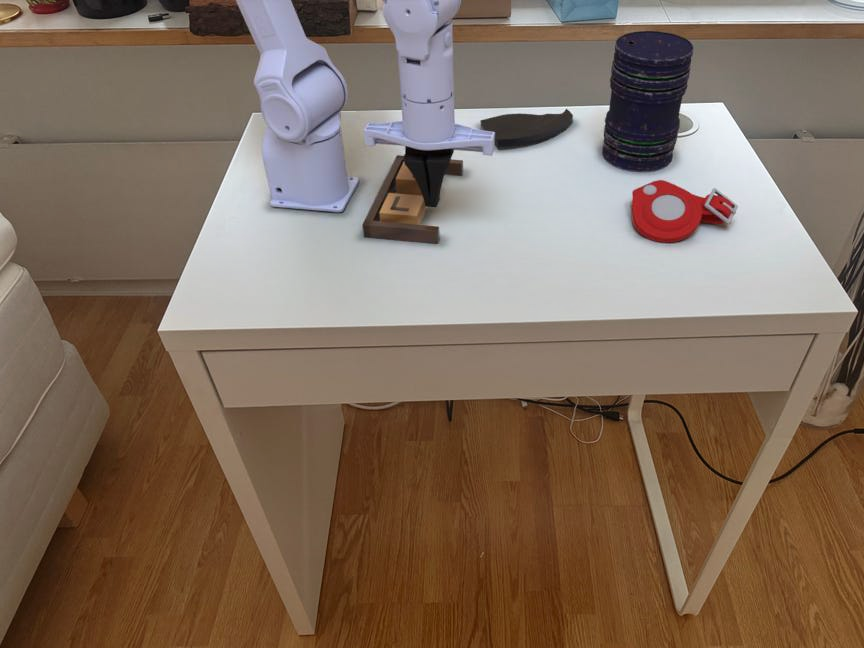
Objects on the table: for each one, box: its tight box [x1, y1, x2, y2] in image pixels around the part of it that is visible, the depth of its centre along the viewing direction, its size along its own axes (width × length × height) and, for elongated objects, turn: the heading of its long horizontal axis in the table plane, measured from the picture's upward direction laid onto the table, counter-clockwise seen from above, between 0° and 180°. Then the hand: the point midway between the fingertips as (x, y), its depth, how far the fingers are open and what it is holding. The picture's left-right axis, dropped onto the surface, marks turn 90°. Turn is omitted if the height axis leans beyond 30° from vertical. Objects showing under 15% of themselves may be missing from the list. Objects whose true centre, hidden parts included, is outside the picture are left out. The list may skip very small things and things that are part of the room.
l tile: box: [379, 192, 427, 225], centre depth 90 cm, size 5×5×2 cm
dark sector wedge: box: [480, 108, 574, 151], centre depth 107 cm, size 8×14×2 cm, turn 107°
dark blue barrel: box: [601, 30, 695, 173], centre depth 97 cm, size 10×10×15 cm
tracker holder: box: [630, 179, 739, 243], centre depth 89 cm, size 12×4×10 cm
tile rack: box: [362, 154, 464, 245], centre depth 92 cm, size 9×17×2 cm, turn 171°
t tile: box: [395, 162, 422, 196], centre depth 95 cm, size 5×5×2 cm
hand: (432, 203), depth 88 cm, fingers closed
